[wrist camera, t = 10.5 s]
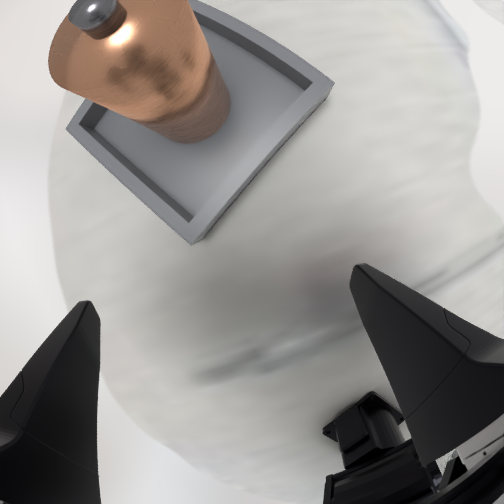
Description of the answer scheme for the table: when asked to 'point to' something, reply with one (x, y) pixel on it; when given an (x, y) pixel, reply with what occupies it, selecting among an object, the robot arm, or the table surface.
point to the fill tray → (220, 143)
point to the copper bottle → (142, 65)
